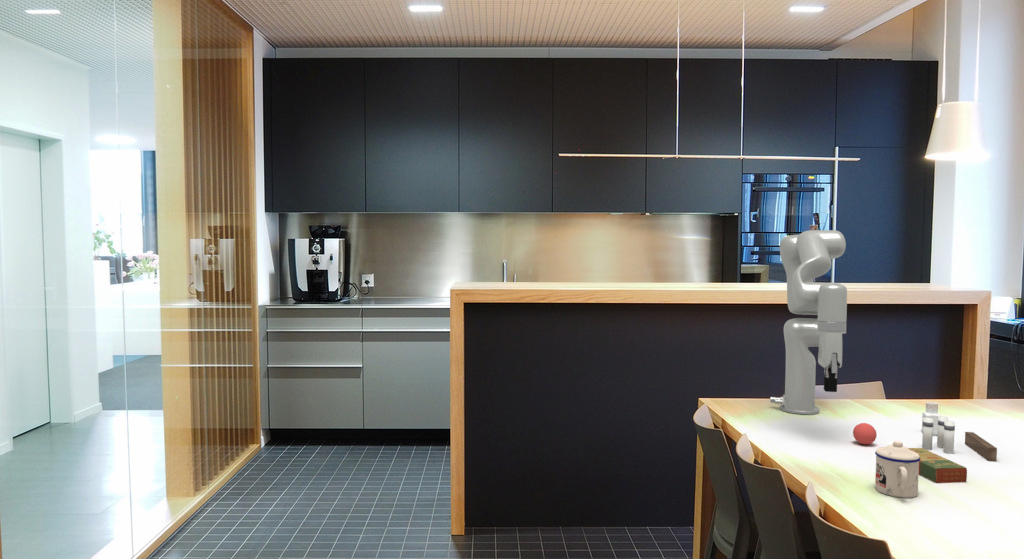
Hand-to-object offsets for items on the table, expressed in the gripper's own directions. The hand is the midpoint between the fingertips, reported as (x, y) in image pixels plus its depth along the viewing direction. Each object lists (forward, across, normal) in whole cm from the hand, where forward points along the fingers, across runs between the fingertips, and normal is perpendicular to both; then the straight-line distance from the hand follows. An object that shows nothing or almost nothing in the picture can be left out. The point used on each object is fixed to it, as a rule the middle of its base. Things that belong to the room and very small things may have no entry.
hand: (830, 391), depth 199 cm
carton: (+16, +21, +19) cm, 33 cm away
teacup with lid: (+16, +40, +7) cm, 44 cm away
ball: (+12, -1, +10) cm, 15 cm away
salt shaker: (+15, -18, +31) cm, 39 cm away
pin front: (+15, -1, +25) cm, 29 cm away
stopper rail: (+15, -1, +38) cm, 41 cm away
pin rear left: (+15, -3, +30) cm, 34 cm away
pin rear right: (+15, +2, +30) cm, 33 cm away
